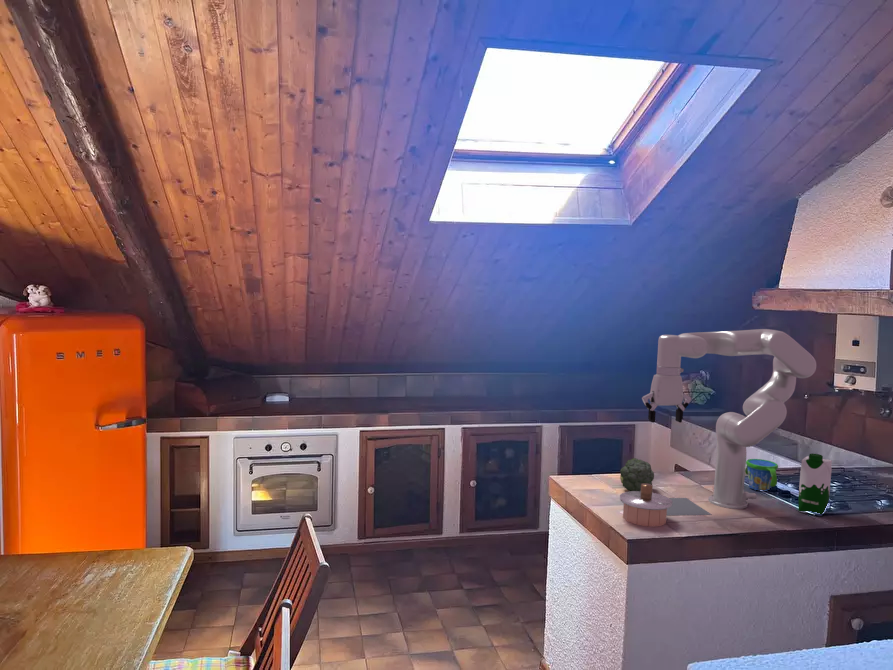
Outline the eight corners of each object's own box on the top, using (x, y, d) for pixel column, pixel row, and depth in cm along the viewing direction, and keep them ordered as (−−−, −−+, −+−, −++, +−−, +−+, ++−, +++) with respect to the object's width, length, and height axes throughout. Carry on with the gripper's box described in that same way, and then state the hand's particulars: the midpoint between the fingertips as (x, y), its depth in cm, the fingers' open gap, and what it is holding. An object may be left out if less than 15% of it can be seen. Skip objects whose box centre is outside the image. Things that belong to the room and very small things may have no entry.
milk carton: (794, 512, 235) (799, 453, 233) (801, 505, 242) (806, 449, 240) (823, 518, 230) (829, 458, 228) (830, 512, 236) (835, 454, 235)
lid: (657, 493, 231) (658, 477, 230) (681, 509, 215) (683, 492, 214) (611, 493, 228) (612, 477, 227) (632, 510, 212) (633, 493, 212)
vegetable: (644, 476, 263) (666, 469, 249) (629, 504, 257) (651, 498, 244) (619, 456, 263) (639, 448, 250) (603, 484, 258) (623, 477, 244)
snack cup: (785, 496, 253) (787, 468, 252) (757, 495, 252) (759, 468, 251) (762, 483, 268) (764, 457, 267) (736, 482, 267) (737, 456, 266)
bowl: (654, 512, 229) (655, 494, 229) (673, 526, 216) (674, 508, 216) (616, 513, 227) (617, 495, 227) (633, 527, 214) (634, 508, 214)
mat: (686, 498, 245) (686, 497, 245) (711, 515, 228) (711, 514, 228) (640, 499, 242) (640, 498, 242) (662, 516, 225) (663, 515, 225)
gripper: (686, 370, 241) (683, 419, 242) (639, 369, 238) (636, 419, 239) (697, 373, 233) (694, 424, 235) (649, 373, 230) (646, 424, 232)
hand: (665, 421), depth 237 cm, fingers open, 9 cm apart
